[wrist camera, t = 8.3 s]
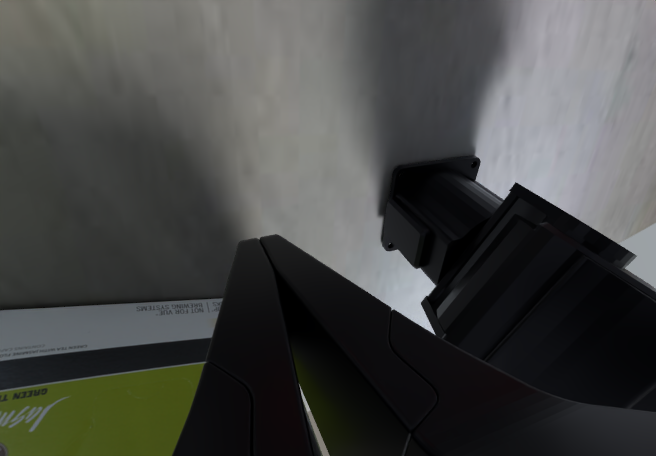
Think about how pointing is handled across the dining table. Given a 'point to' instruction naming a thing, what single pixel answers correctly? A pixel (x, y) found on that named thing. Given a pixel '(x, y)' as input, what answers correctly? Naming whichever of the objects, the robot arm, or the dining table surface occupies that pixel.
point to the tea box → (102, 377)
